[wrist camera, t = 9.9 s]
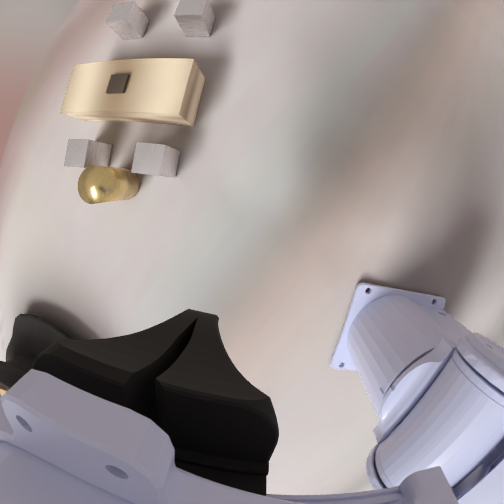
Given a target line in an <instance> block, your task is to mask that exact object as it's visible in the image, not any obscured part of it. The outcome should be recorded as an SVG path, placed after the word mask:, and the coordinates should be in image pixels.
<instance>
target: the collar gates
mask: <svg viewBox="0 0 504 504" xmlns="http://www.w3.org/2000/svg"><path fill="white" fill-rule="evenodd" d="M174 16H175V18H176V20H177V21H178V23H179V25H180V27H181V29H182V30H183V32H184V34H185V36H198V37H210V33H211V30H212V27H213V24H214V21H215V17H214V14H213V10H212V7H211V4H210V1H209V0H180V2H179V5H178V7H177V10H176V12H175V14H174ZM148 22H149V19H148V18H147V17H146V15H145V14H144V13H143V11H142V10H141V9H140V7H139V6H138V5H137V4H136V2H135V1H133V2H127V3H121V4H115V5H114V6H113V8H112V10H111V12H110V14H109V16H108V18H107V20H106V22H105V23H106V24H107V25H108V26H109V27H110V28H111V29H112V30H114V31H115V32H116V33H117V34H118V35H119V36H120V37H121V38H122V39H133V38H143V35H144V32H145V30H146V27H147V25H148ZM111 148H112V145H110V144H106V143H102V142H97V141H93V140H87V139H69V140H68V146H67V151H66V157H65V163H64V166H71V167H83V168H87V167H89V166H104V167H108V165H109V159H110V154H111ZM179 155H180V151H178V150H176V149H174V148H171V147H169V146H167V145H163V144H153V143H141V142H137V143H136V148H135V153H134V159H133V164H132V170H131V173H140V174H148V175H155V176H164V177H174V178H175V177H176V171H177V166H178V161H179Z"/></svg>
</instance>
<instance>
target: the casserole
mask: <svg viewBox="0 0 504 504" xmlns="http://www.w3.org/2000/svg"><path fill="white" fill-rule="evenodd" d="M58 338H63V339H70V338H69V337H68V336H67V335H66V334H64V333H63V332H62V331H60V330H59V329H57V328H56V327H55V326H53V325H52V324H51V323H49V322H47V321H45V320H43V319H41V318H39V317H37V316H33V315H30V314H20V315H19V316H17V317H16V318H15V323H14V327H13V334H12V338H11V340H10V343H9V345H8V347H7V350H6V362H3V361H0V396H3V395H4V394H5V393H6V392H7V391H8V390H9V389H10V388H11V387H12V386H13V385H14V384H16V383H17V382H18V381H19V380H20V379H21V378H22V377H23V376H24V375H25V374H26V373H28V372H29V371H30V370H31V369H33V362H34V360H35V358H36V357H37V356H38V355H39V354H40V353H41V352H43V351H44V350H45V349H46V348H47V347H48V346H50V345H51V344H52V343H53V342H54V341H56V340H57V339H58Z"/></svg>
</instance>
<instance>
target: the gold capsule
mask: <svg viewBox="0 0 504 504" xmlns="http://www.w3.org/2000/svg"><path fill="white" fill-rule="evenodd" d="M139 187H140V179H139V176H138V175H137V173H131V169H124V168H114V167H104V166H89V167H87V168H86V169H85V170H84V171H83V172H82V173H81V175H80V177H79V181H78V191H79V194H80V197H81V198H82V199H83V200H84V201H85V202H86V203H89V204H95V203H102V202H110V201H118V200H126V199H131V198H133V197H134V196H135V195H136V194H137V192H138V190H139Z"/></svg>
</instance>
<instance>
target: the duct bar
mask: <svg viewBox="0 0 504 504" xmlns="http://www.w3.org/2000/svg"><path fill="white" fill-rule="evenodd" d="M204 82H205V77H204V76H203V74H202V72H201V70H200V69H199V67H198V65H197V63H196V61H195V60H194V59H184V58H144V59H124V60H112V61H102V62H93V63H86V64H79V65H74V68H73V70H72V73H71V76H70V80H69V83H68V86H67V89H66V93H65V96H64V100H63V103H62V107H61V111H60V113H62V114H66V115H69V116H72V117H76V118H79V119H82V120H85V121H129V122H147V123H161V124H172V125H182V126H191V127H194V122H195V118H196V114H197V110H198V105H199V101H200V97H201V93H202V90H203V86H204Z"/></svg>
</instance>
